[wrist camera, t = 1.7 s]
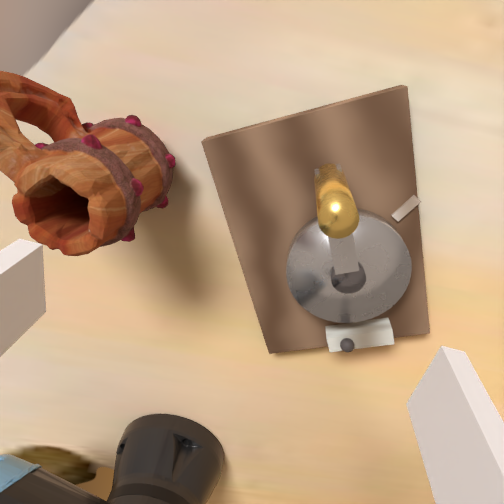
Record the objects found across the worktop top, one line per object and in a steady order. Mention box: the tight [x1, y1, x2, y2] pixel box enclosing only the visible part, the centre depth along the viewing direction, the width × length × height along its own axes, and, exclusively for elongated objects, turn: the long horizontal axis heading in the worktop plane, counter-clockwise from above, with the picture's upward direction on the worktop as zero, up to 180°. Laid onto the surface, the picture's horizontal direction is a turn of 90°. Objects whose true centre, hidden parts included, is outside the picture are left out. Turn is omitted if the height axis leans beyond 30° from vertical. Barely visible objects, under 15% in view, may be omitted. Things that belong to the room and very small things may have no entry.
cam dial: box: [286, 163, 412, 323], centre depth 30 cm, size 16×11×11 cm
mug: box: [0, 71, 175, 256], centre depth 29 cm, size 15×8×15 cm, turn 41°
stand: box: [202, 85, 430, 354], centre depth 35 cm, size 17×24×5 cm
